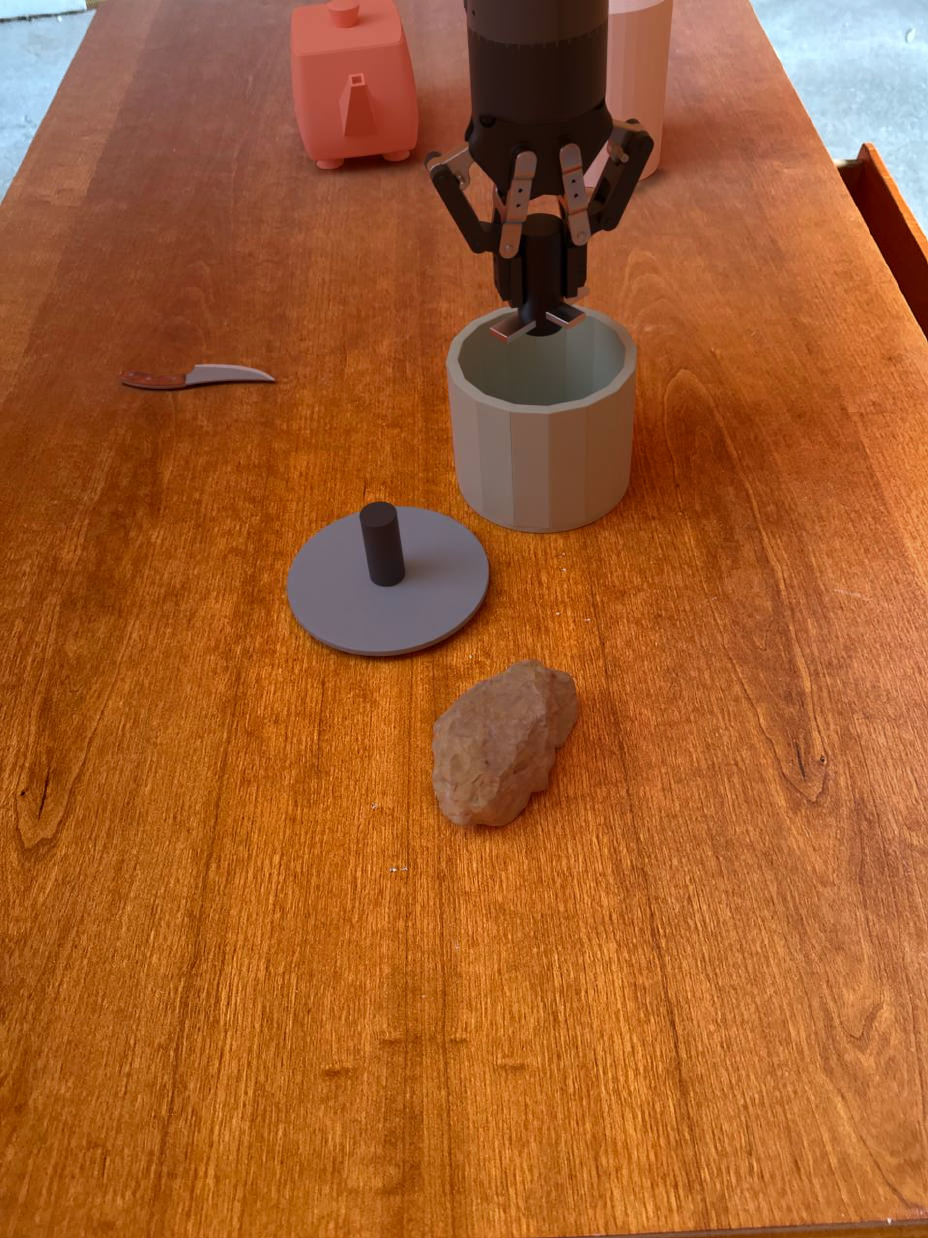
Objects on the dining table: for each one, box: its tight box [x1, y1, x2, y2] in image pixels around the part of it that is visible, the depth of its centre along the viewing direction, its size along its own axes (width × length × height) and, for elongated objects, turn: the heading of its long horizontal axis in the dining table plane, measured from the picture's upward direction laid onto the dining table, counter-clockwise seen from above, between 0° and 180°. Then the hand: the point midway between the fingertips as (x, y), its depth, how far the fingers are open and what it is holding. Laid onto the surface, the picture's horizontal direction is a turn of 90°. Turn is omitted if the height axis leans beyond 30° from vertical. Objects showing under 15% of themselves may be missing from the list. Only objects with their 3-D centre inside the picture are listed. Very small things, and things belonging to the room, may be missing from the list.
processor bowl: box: [445, 303, 639, 534], centre depth 80 cm, size 13×13×10 cm
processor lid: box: [286, 500, 490, 657], centre depth 75 cm, size 14×14×7 cm
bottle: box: [583, 0, 674, 189], centre depth 107 cm, size 12×12×25 cm
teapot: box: [290, 0, 419, 170], centre depth 116 cm, size 22×13×14 cm, turn 7°
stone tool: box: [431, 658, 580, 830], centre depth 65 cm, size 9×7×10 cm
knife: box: [117, 363, 276, 390], centre depth 94 cm, size 13×1×3 cm
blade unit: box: [490, 212, 591, 344], centre depth 72 cm, size 8×6×7 cm
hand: (540, 295), depth 73 cm, fingers closed on blade unit, 3 cm apart
